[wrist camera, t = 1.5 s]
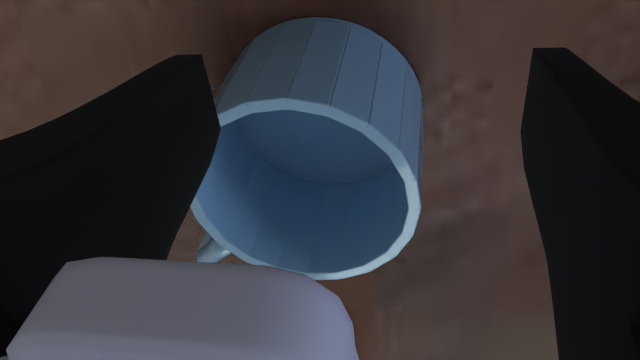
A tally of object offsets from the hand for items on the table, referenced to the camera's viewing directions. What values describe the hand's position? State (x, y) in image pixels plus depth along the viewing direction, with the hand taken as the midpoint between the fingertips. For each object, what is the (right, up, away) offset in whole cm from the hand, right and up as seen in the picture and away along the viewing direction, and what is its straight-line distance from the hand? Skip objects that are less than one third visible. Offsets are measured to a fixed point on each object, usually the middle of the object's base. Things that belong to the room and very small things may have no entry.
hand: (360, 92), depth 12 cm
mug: (-2, 0, +13) cm, 13 cm away
